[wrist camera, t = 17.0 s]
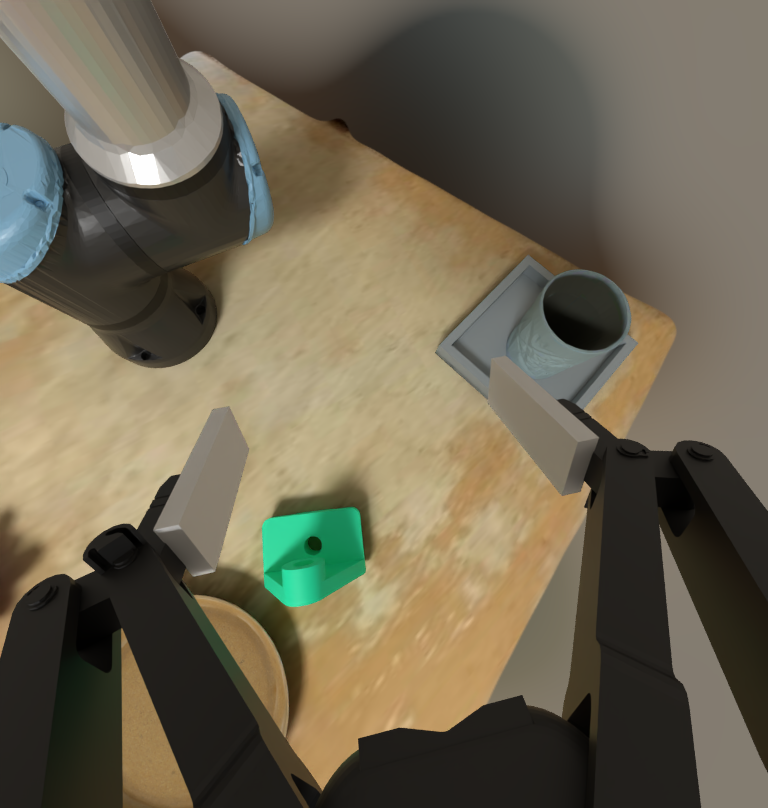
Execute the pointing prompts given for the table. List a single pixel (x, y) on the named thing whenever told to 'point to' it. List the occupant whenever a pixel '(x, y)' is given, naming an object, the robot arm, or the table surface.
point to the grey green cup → (569, 324)
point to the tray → (495, 323)
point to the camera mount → (312, 554)
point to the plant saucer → (141, 728)
